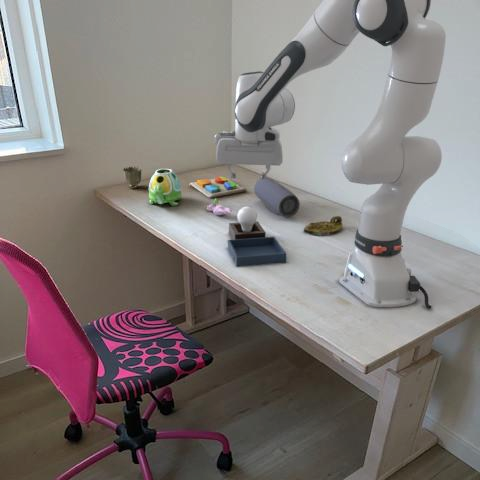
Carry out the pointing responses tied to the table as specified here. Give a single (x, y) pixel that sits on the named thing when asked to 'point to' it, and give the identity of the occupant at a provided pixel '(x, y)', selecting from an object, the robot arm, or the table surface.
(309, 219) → the table surface
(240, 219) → the lightbulb
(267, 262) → the tray
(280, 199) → the bluetooth speaker
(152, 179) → the turtle holder
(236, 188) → the puzzle board
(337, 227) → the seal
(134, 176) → the cup
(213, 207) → the rabbit figure
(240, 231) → the stand
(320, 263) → the table surface
